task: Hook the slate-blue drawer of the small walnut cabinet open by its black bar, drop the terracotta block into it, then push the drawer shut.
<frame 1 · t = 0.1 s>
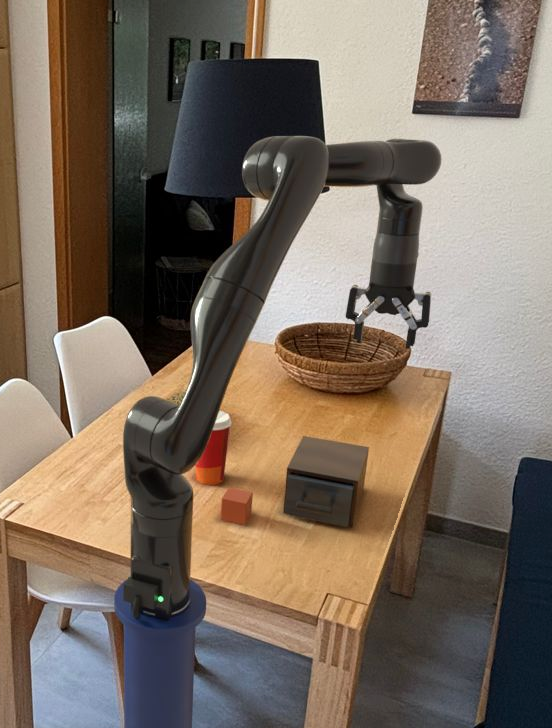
hand: (383, 344, 142), 30 cm above the table, tool pointing down, fingers open, 8 cm apart
cabinet: (324, 501, 148), on the table
drawer: (322, 490, 142), point 5 cm above the table, slide at 0.5 cm
paper cup: (209, 479, 157), on the table
block: (236, 516, 143), on the table
sponge: (183, 428, 180), on the table
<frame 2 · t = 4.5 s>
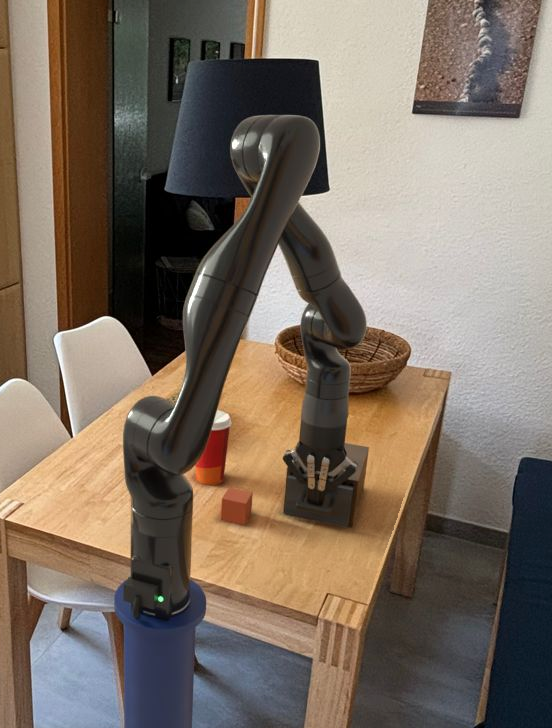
hand: (315, 505, 136), 5 cm above the table, tool pointing down, fingers closed
drawer: (322, 491, 142), point 5 cm above the table, slide at 0.8 cm, touching gripper
everything else where it was.
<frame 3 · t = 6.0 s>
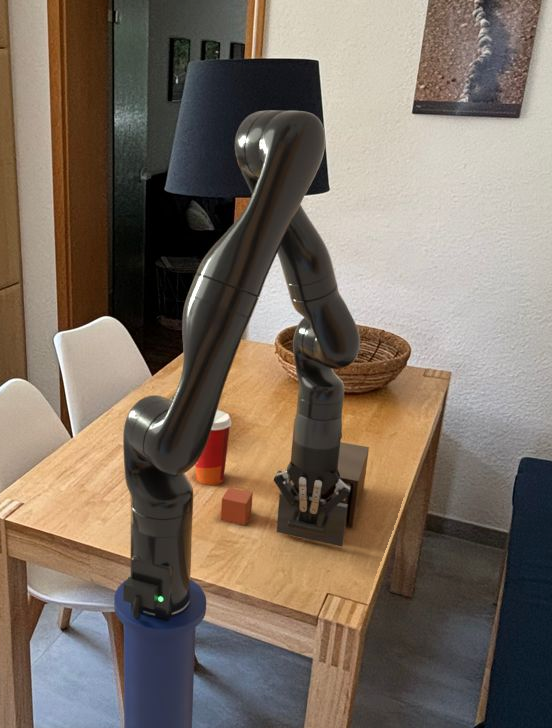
hand: (307, 528, 131), 4 cm above the table, tool pointing down, fingers closed
drawer: (315, 508, 137), point 5 cm above the table, slide at 7.2 cm, touching gripper
everything else where it was.
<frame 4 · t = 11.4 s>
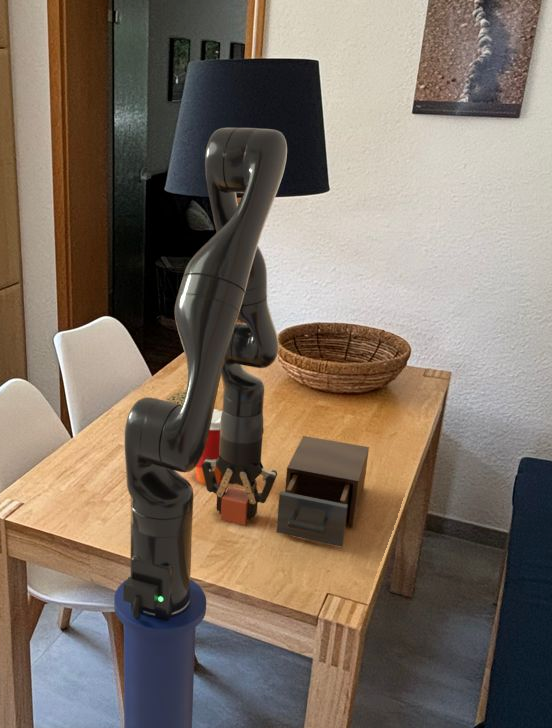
hand: (236, 515, 143), 0 cm above the table, tool pointing down, fingers closed on block, 4 cm apart
drawer: (315, 508, 137), point 5 cm above the table, slide at 7.3 cm
block: (236, 516, 143), on the table, touching gripper
everything else where it was.
when the fingers open (8 cm above the table, at t = 16.5 s): block drops 6 cm, resting on drawer.
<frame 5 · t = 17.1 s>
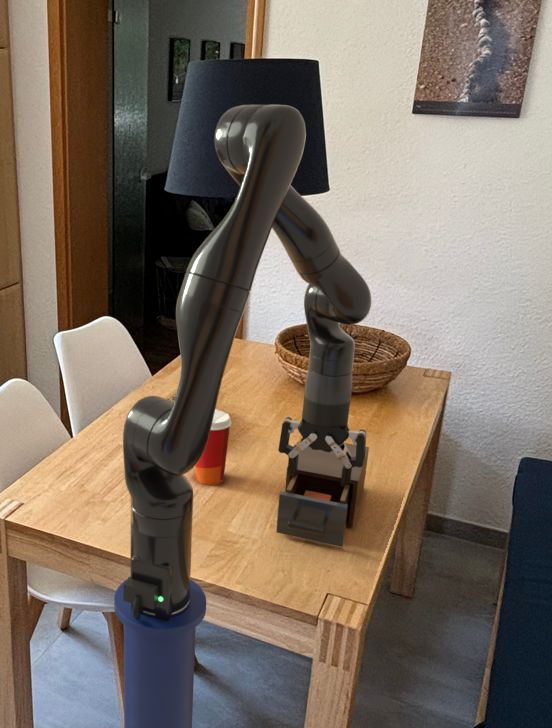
hand: (318, 479, 135), 10 cm above the table, tool pointing down, fingers open, 8 cm apart
drawer: (315, 508, 137), point 5 cm above the table, slide at 7.3 cm, touching block
block: (314, 521, 138), point 2 cm above the table, touching drawer
everything else where it was.
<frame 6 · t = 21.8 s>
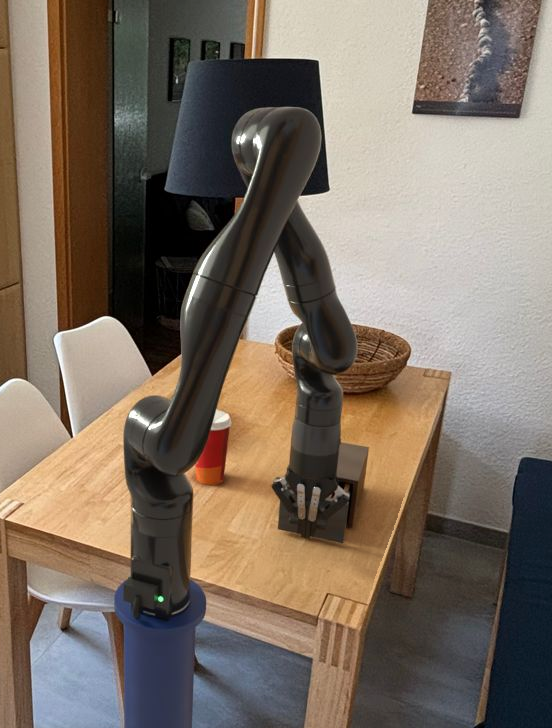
hand: (306, 536, 129), 4 cm above the table, tool pointing down, fingers closed
drawer: (316, 505, 138), point 5 cm above the table, slide at 6.1 cm, touching block, gripper
block: (315, 517, 139), point 2 cm above the table, touching drawer
everything else where it was.
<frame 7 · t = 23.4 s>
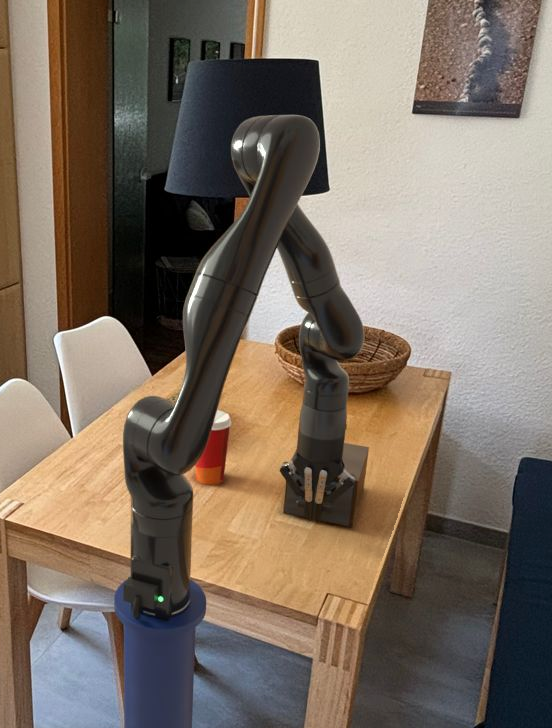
hand: (312, 518, 134), 4 cm above the table, tool pointing down, fingers closed
drawer: (322, 489, 143), point 5 cm above the table, slide at 0.0 cm, touching block, cabinet, gripper
block: (321, 501, 144), point 2 cm above the table, touching drawer
everything else where it was.
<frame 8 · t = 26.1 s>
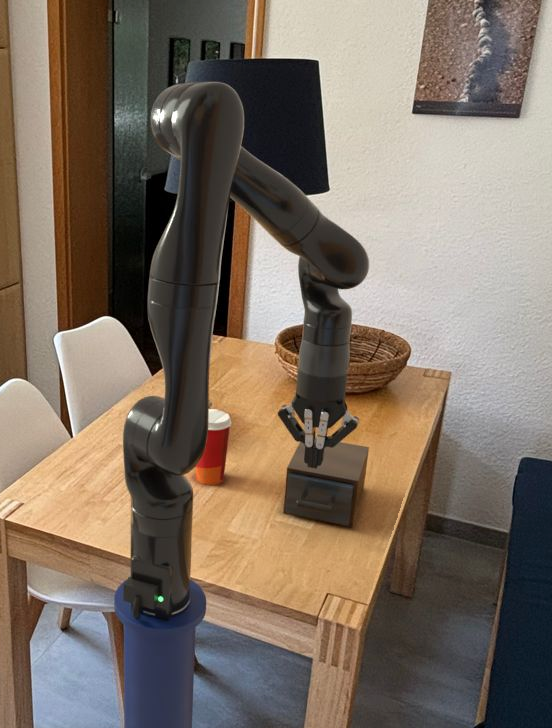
hand: (313, 465, 126), 17 cm above the table, tool pointing down, fingers closed
drawer: (322, 489, 143), point 5 cm above the table, slide at 0.0 cm, touching block
everything else where it was.
at the end: drawer pulled out 7.3 cm at the most during the clip, back to where it started at the end; block inside the target area in the cabinet (3.8 cm from its centre), point 2.0 cm above the cabinet's base; drawer slide at 0.0 cm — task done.
